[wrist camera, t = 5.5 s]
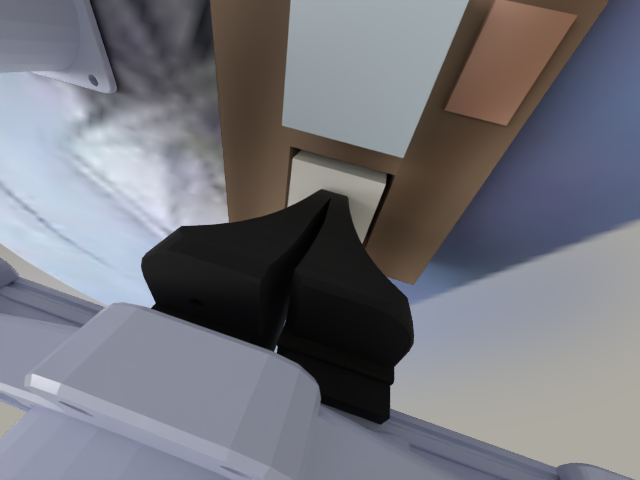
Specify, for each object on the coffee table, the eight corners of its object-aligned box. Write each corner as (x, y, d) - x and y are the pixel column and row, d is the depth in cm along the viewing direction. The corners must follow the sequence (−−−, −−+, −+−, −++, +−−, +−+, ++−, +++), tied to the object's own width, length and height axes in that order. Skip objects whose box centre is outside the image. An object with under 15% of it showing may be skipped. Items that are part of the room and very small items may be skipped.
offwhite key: (300, 206, 14) (284, 232, 12) (310, 140, 12) (292, 158, 10) (363, 225, 14) (357, 254, 12) (387, 161, 12) (385, 184, 9)
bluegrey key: (306, 111, 10) (281, 125, 8) (325, -33, 7) (295, -73, 5) (400, 135, 9) (403, 158, 7) (455, -6, 7) (484, -36, 5)
